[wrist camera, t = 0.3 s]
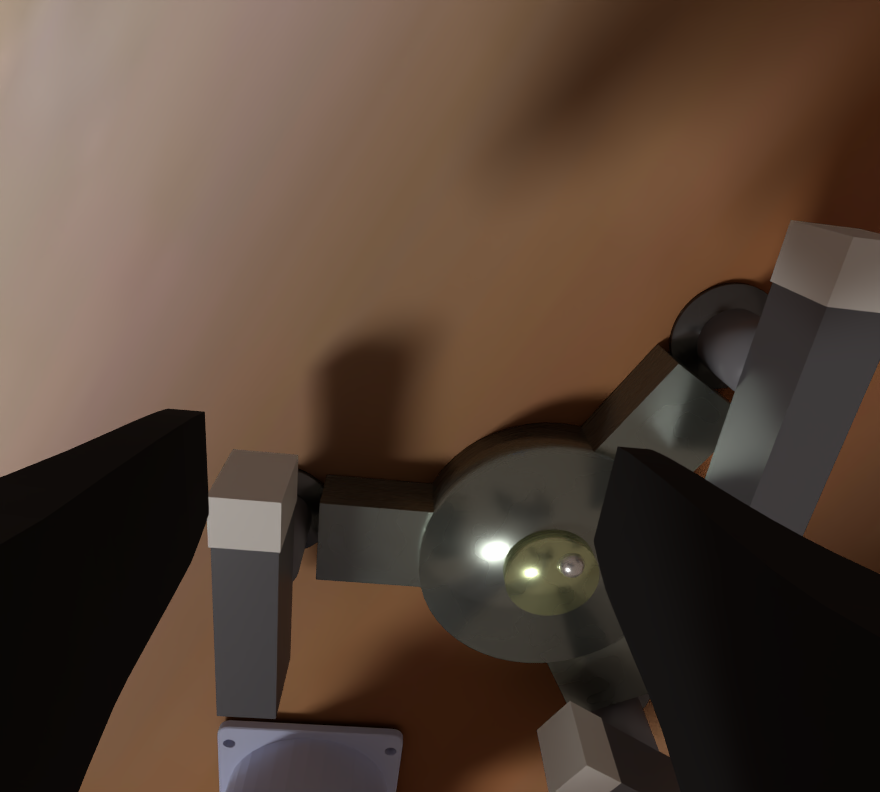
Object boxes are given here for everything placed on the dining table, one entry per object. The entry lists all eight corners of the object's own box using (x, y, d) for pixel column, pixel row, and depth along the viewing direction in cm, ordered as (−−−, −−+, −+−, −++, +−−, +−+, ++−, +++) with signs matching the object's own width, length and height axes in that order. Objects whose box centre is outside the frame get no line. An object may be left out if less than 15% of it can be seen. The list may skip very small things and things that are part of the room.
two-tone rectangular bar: (725, 452, 22) (808, 541, 17) (665, 446, 21) (732, 535, 17) (808, 215, 18) (939, 247, 14) (738, 206, 18) (846, 236, 14)
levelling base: (638, 722, 28) (664, 793, 25) (237, 699, 26) (214, 772, 23) (794, 289, 20) (860, 318, 17) (228, 223, 18) (192, 243, 15)
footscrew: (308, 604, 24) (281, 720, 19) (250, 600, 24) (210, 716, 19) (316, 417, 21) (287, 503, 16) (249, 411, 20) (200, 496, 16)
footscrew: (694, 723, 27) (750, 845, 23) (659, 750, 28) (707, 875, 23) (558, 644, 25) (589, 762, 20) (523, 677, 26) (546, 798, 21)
